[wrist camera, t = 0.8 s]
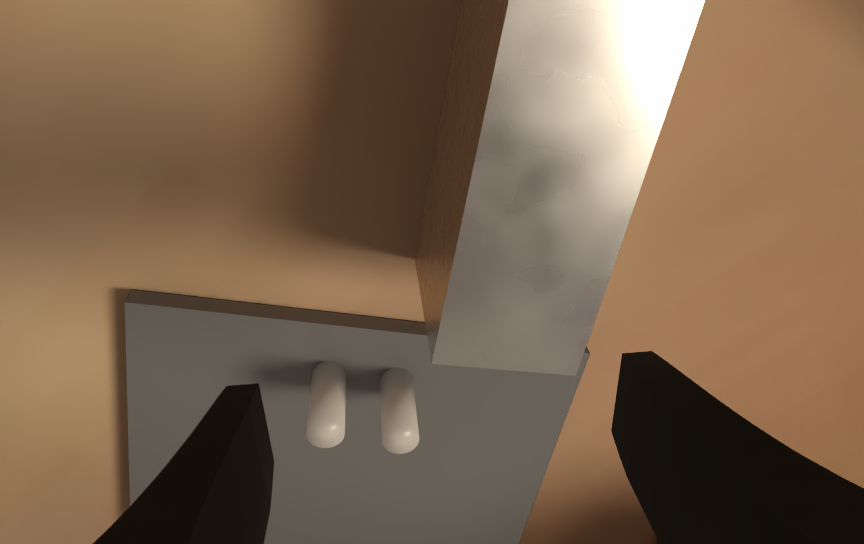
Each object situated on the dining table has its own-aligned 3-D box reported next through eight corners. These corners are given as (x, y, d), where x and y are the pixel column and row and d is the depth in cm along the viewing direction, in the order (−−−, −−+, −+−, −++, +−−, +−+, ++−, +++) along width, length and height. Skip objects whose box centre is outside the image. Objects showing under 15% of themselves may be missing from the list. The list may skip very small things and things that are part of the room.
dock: (583, 340, 24) (618, 408, 21) (480, 622, 32) (494, 703, 29) (132, 289, 22) (91, 357, 18) (138, 612, 29) (110, 700, 26)
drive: (611, -41, 18) (711, -21, 13) (526, 270, 23) (575, 375, 18) (473, -68, 18) (521, -59, 12) (414, 257, 22) (431, 363, 17)
